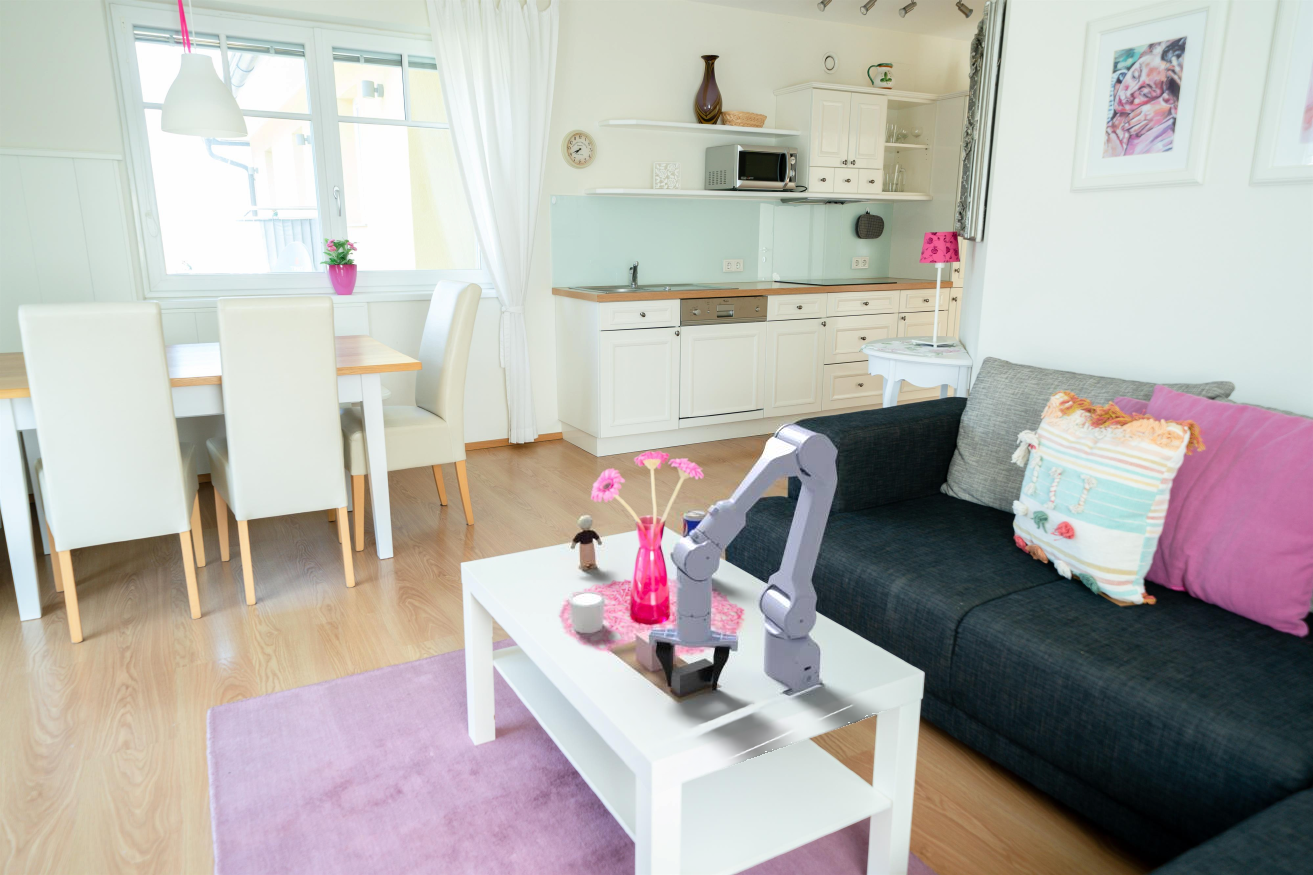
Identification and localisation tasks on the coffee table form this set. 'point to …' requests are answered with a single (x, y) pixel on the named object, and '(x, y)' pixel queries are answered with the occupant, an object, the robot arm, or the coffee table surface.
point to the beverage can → (692, 520)
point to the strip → (651, 676)
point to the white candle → (587, 611)
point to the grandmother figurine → (586, 543)
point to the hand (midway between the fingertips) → (692, 685)
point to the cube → (648, 652)
